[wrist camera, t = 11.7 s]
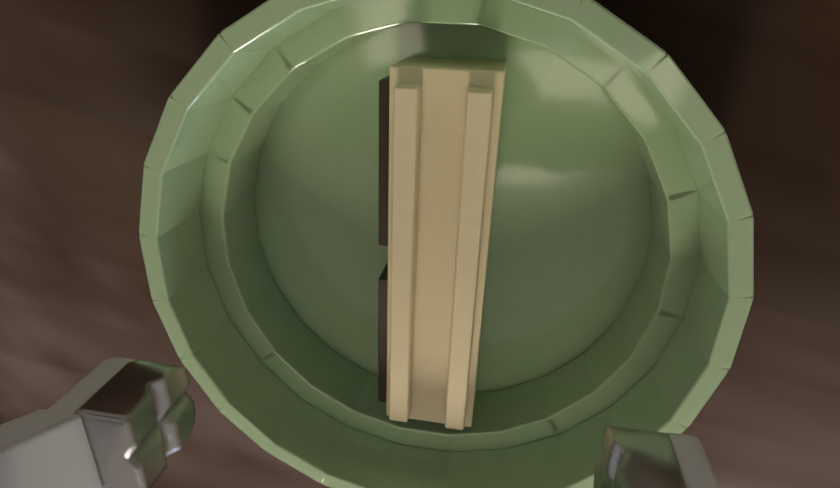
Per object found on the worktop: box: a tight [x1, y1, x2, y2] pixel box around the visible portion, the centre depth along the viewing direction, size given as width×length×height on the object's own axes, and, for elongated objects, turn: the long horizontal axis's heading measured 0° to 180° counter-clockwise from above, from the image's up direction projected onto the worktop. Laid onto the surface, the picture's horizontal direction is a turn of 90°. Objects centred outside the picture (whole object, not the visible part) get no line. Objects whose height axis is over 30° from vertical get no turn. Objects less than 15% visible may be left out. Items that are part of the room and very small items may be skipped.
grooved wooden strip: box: [378, 57, 507, 430], centre depth 18 cm, size 12×4×4 cm, turn 178°
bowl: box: [139, 0, 754, 488], centre depth 18 cm, size 17×17×6 cm
